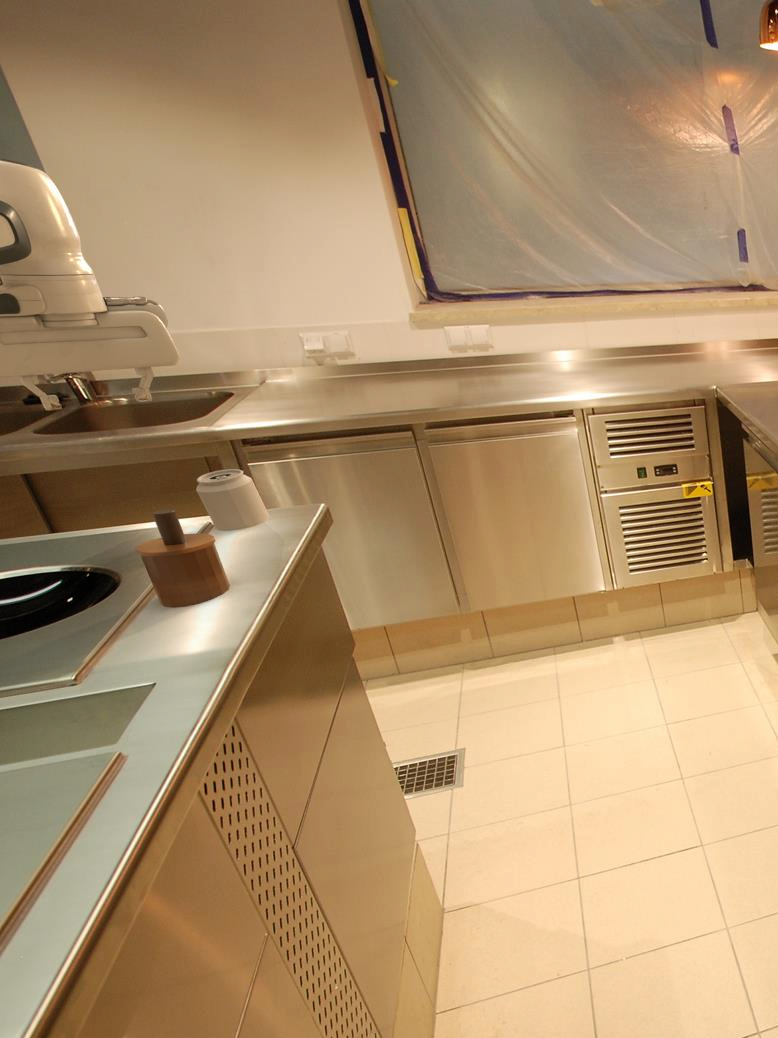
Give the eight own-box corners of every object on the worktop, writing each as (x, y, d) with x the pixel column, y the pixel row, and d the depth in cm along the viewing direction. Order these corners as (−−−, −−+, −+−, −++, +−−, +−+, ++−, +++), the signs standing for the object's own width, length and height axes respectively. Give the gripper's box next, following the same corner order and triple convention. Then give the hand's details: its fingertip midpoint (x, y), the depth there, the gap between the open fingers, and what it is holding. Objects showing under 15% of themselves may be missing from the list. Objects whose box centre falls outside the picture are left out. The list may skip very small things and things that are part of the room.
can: (273, 527, 150) (242, 463, 143) (282, 540, 145) (250, 474, 139) (221, 540, 145) (187, 474, 139) (229, 553, 141) (194, 486, 134)
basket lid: (149, 565, 113) (132, 524, 110) (130, 552, 117) (114, 512, 115) (226, 549, 119) (211, 510, 116) (205, 537, 123) (191, 499, 121)
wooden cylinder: (173, 617, 116) (149, 559, 113) (155, 604, 120) (132, 547, 117) (241, 600, 122) (221, 545, 119) (222, 588, 126) (202, 534, 123)
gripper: (151, 294, 120) (187, 394, 126) (-60, 299, 105) (-8, 411, 111) (166, 297, 117) (201, 398, 122) (-50, 302, 101) (2, 417, 107)
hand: (100, 405), depth 116 cm, fingers open, 8 cm apart
